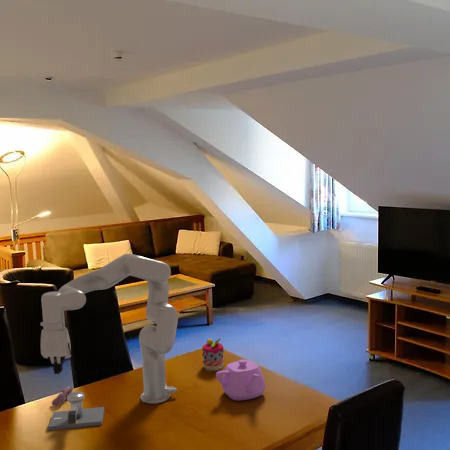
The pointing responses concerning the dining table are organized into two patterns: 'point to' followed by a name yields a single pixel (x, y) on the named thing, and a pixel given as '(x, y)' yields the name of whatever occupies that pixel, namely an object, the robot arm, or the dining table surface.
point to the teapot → (242, 380)
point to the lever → (75, 406)
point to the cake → (213, 355)
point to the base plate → (88, 419)
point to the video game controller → (62, 396)
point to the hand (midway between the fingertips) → (58, 372)
